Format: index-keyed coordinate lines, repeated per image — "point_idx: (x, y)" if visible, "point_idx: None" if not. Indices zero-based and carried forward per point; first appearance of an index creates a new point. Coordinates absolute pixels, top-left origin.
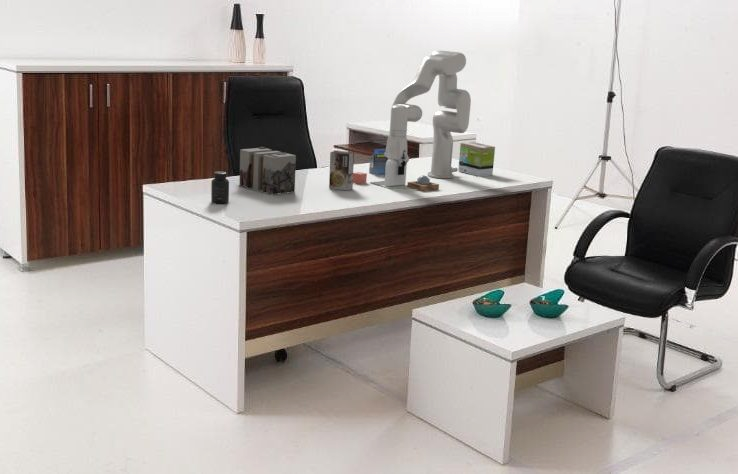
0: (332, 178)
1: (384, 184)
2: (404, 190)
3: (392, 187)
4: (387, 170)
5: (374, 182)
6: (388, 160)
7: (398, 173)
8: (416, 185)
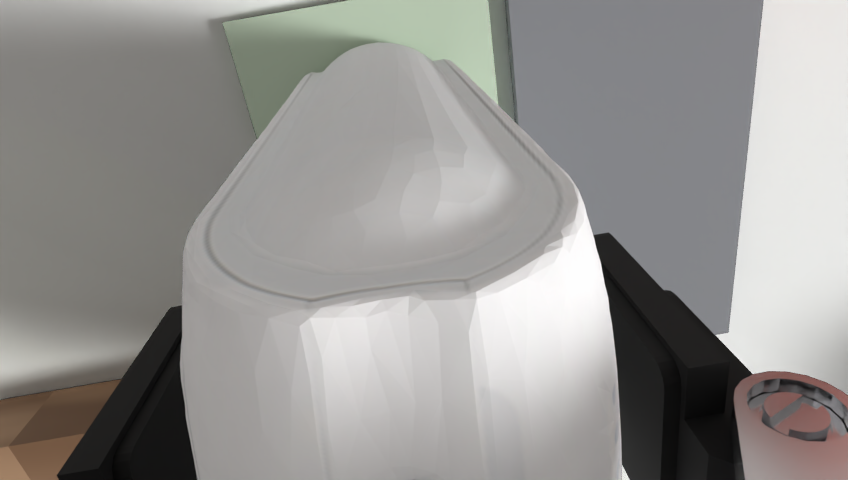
0: None
1: (515, 101)
2: (79, 210)
3: (250, 103)
4: (341, 99)
5: (721, 12)
6: (433, 336)
7: (173, 319)
8: (89, 422)
